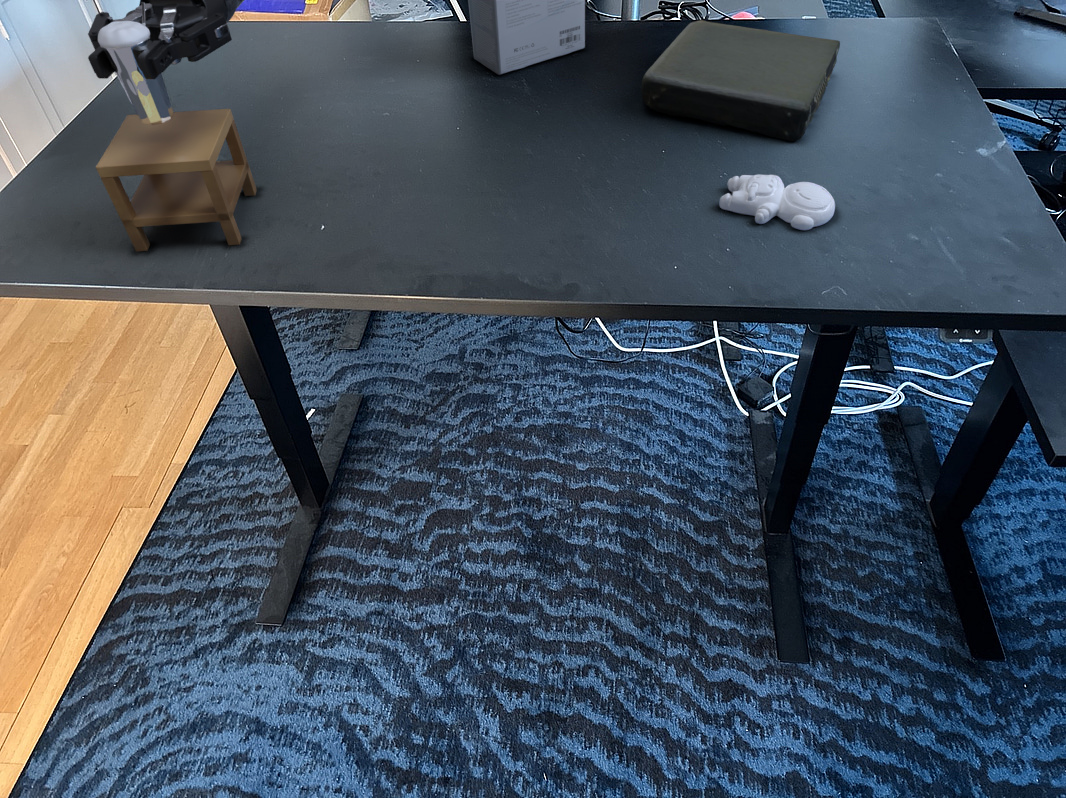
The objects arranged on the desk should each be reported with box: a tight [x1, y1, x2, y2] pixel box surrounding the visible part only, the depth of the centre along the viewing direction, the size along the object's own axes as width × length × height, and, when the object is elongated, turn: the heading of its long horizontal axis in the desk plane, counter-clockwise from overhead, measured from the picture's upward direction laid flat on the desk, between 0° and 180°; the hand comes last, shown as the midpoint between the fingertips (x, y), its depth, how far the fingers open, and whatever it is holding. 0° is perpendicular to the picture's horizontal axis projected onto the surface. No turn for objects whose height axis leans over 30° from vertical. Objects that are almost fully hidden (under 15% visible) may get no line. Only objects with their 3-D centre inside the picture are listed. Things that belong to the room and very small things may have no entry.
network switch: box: [640, 19, 841, 142], centre depth 102 cm, size 23×23×5 cm
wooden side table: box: [95, 108, 257, 253], centre depth 83 cm, size 11×11×10 cm
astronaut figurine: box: [718, 173, 836, 231], centre depth 84 cm, size 9×12×3 cm
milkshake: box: [98, 2, 175, 125], centre depth 74 cm, size 5×5×10 cm
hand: (121, 68), depth 71 cm, fingers closed on milkshake, 4 cm apart
